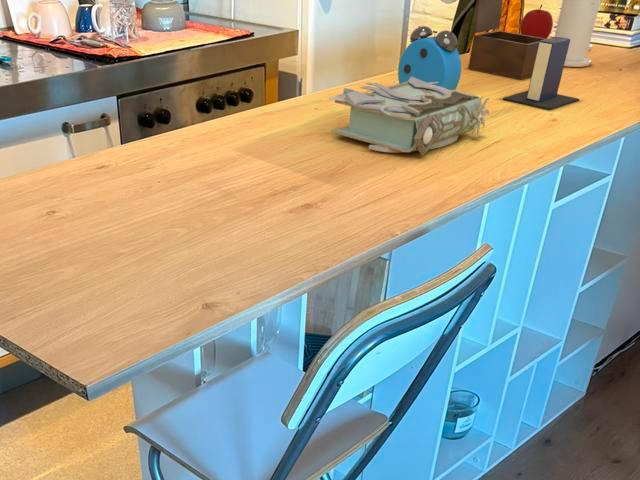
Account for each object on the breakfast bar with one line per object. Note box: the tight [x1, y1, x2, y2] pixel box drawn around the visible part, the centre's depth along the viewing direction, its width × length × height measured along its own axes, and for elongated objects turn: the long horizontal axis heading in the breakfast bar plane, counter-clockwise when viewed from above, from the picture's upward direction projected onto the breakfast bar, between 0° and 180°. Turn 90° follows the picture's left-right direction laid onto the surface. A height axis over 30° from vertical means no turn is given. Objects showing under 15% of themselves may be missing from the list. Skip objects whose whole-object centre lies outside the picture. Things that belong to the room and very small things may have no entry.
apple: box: [520, 4, 554, 39], centre depth 243 cm, size 9×9×10 cm
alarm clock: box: [397, 25, 462, 90], centre depth 178 cm, size 13×6×15 cm, turn 43°
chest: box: [467, 29, 544, 81], centre depth 211 cm, size 16×12×8 cm
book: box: [526, 37, 570, 102], centre depth 186 cm, size 8×4×12 cm, turn 136°
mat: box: [502, 90, 580, 111], centre depth 190 cm, size 14×12×1 cm
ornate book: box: [327, 76, 491, 157], centre depth 160 cm, size 23×10×30 cm
